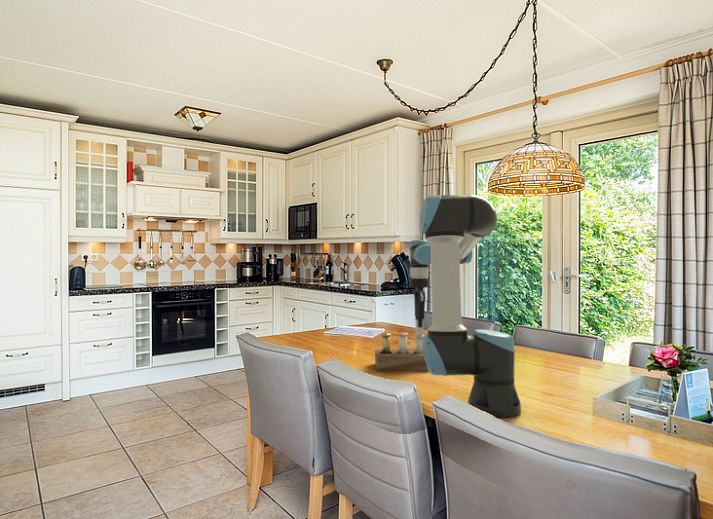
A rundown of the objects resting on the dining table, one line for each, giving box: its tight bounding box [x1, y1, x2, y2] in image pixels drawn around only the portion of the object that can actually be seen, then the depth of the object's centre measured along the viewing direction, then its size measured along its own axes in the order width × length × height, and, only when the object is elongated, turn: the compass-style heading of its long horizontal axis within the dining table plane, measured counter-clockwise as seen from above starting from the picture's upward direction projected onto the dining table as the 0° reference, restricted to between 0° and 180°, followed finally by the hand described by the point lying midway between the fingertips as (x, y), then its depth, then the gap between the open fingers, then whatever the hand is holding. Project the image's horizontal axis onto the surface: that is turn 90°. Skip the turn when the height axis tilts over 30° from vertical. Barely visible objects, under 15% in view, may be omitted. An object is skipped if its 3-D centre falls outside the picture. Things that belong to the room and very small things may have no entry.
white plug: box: [397, 332, 409, 354], centre depth 187 cm, size 4×4×9 cm
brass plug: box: [380, 332, 392, 354], centre depth 187 cm, size 4×4×9 cm
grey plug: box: [414, 334, 426, 353], centre depth 187 cm, size 4×4×9 cm
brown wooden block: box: [374, 348, 428, 372], centre depth 187 cm, size 12×22×6 cm, turn 92°
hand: (419, 334), depth 187 cm, fingers closed
